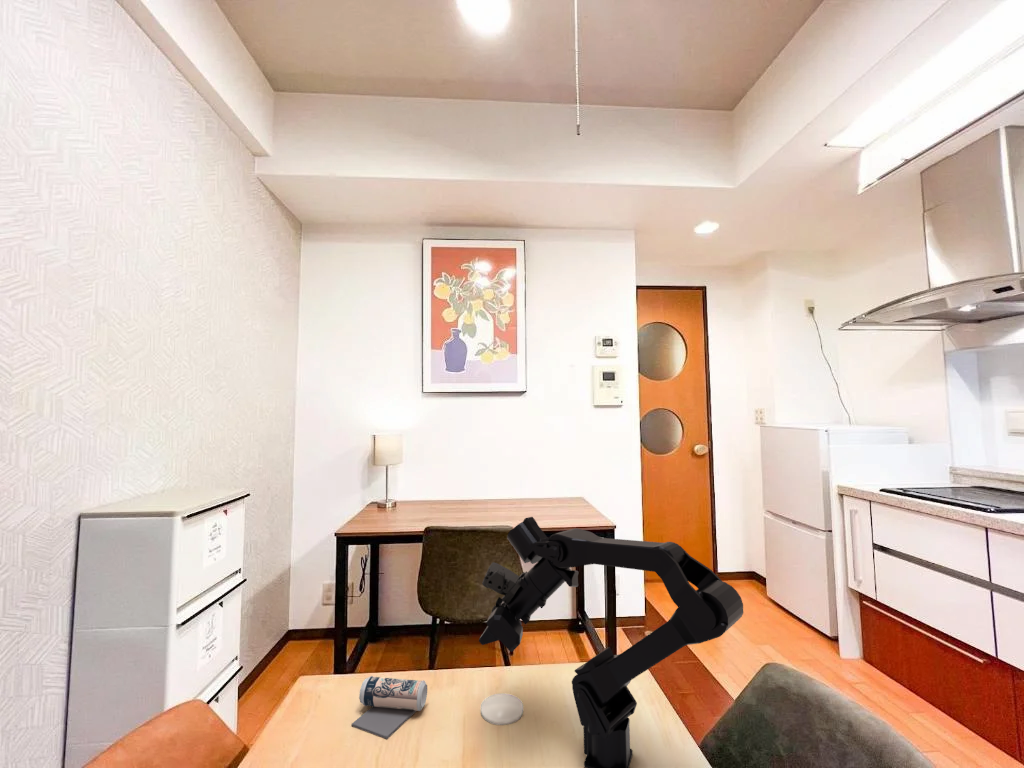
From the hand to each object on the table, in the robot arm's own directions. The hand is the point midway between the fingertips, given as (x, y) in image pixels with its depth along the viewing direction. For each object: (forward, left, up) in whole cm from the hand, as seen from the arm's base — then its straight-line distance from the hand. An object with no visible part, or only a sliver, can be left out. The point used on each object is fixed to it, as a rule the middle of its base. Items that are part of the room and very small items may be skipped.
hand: (480, 642), depth 83 cm
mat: (+16, +6, -13) cm, 22 cm away
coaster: (-3, -4, -13) cm, 14 cm away
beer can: (+10, +3, -11) cm, 15 cm away
